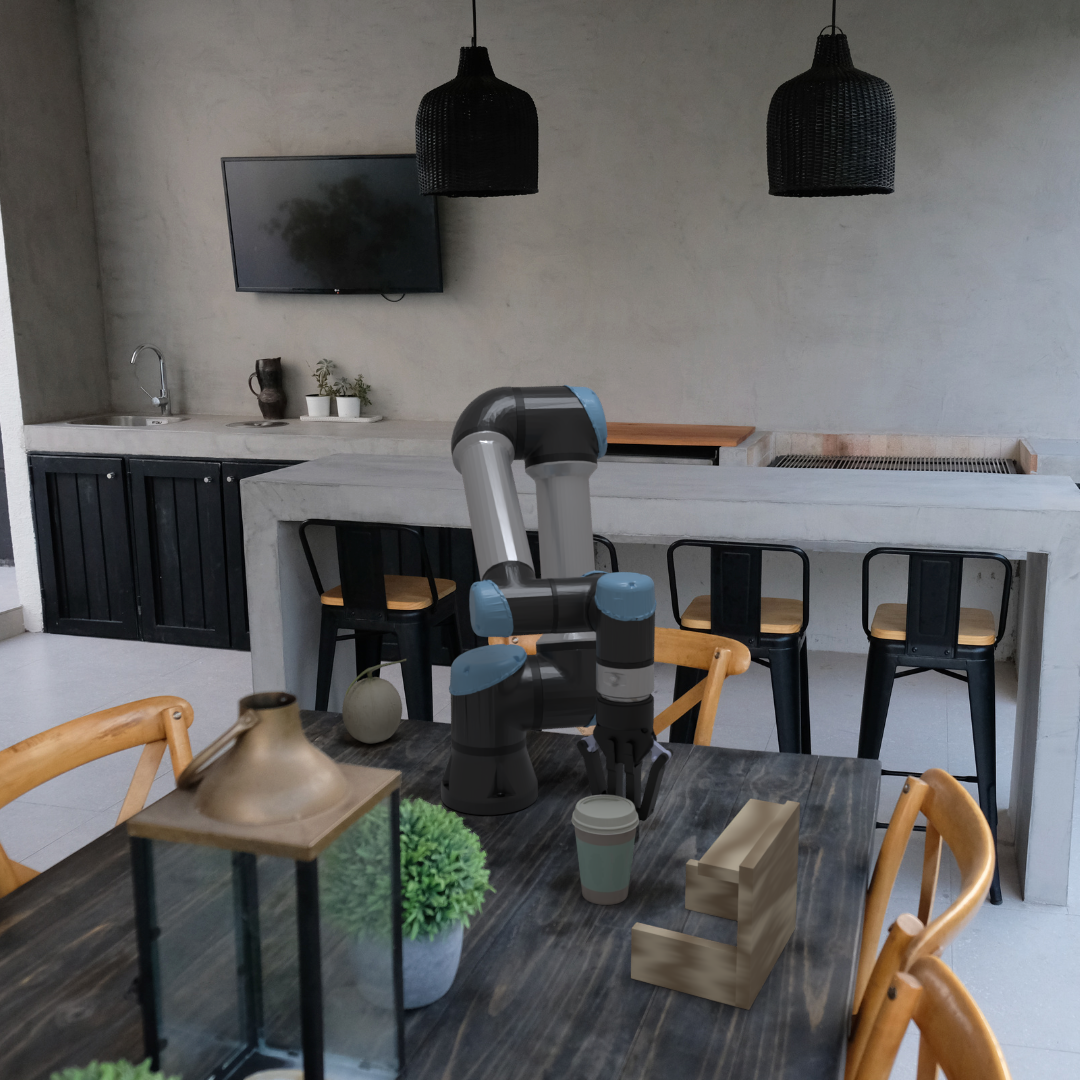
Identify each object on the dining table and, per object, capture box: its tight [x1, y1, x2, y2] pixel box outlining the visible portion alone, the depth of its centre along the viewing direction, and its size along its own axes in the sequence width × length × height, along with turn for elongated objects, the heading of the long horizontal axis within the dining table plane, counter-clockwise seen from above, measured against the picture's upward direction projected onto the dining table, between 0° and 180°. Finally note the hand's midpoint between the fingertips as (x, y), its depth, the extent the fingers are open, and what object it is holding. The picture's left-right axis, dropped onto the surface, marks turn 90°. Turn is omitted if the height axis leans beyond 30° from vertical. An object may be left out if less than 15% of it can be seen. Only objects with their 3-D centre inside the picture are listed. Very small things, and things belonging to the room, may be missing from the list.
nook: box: [630, 798, 801, 1011], centre depth 129 cm, size 14×19×16 cm
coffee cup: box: [571, 795, 640, 906], centre depth 143 cm, size 8×8×12 cm
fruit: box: [341, 658, 407, 744], centre depth 199 cm, size 10×12×15 cm
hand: (623, 864), depth 149 cm, fingers closed
